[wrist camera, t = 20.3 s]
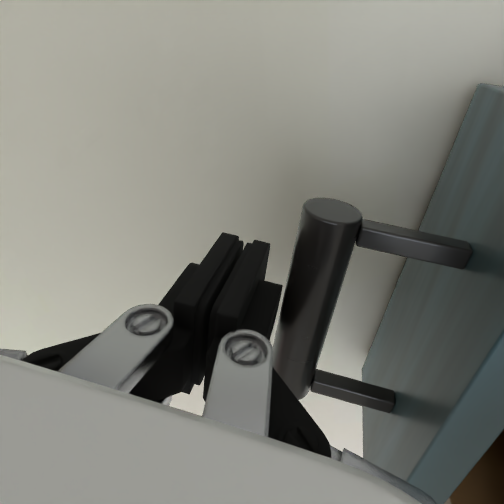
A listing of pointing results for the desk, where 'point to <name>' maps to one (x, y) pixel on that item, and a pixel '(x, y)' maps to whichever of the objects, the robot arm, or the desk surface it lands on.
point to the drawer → (418, 321)
